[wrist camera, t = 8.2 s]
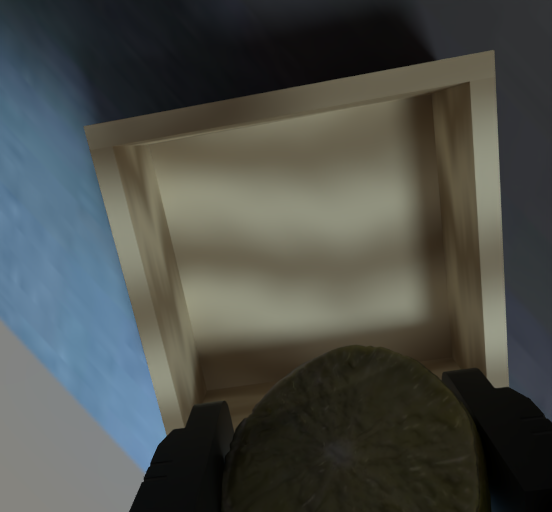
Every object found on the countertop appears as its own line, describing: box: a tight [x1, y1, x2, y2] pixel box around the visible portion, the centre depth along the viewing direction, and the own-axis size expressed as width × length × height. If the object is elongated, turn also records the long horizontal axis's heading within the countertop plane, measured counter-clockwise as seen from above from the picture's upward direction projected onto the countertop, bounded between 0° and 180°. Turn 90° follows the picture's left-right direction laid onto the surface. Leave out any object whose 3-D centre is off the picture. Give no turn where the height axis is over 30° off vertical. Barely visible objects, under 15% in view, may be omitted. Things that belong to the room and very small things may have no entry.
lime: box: [221, 345, 492, 512], centre depth 8 cm, size 4×5×5 cm
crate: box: [84, 50, 509, 435], centre depth 23 cm, size 17×17×6 cm
